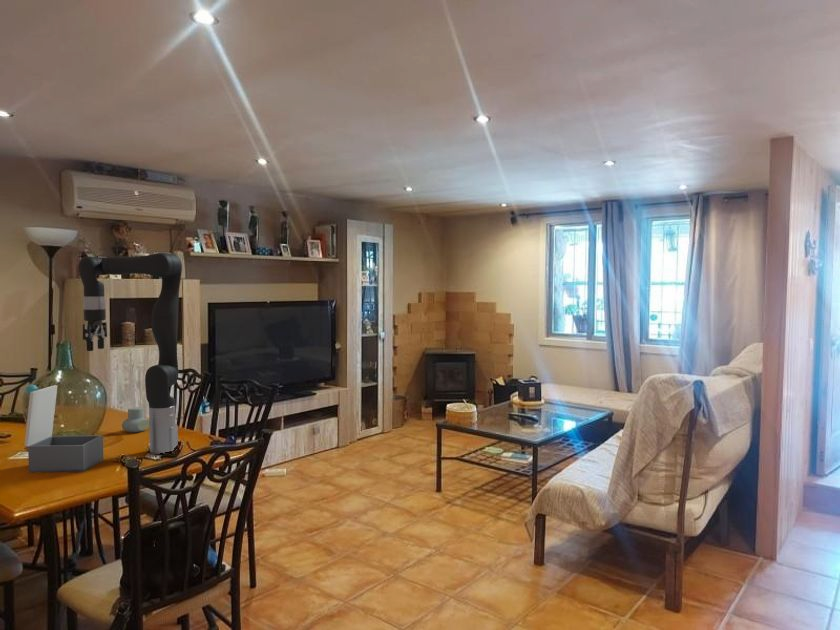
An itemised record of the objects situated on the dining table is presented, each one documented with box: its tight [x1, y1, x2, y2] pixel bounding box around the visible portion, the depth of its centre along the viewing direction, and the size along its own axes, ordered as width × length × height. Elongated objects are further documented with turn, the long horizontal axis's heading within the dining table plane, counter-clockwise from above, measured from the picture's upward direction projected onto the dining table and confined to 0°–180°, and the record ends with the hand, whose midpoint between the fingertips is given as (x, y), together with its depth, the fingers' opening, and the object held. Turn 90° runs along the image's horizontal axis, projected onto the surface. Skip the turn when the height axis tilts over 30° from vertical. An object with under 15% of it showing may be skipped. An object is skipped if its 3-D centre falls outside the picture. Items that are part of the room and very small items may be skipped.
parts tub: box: [27, 434, 105, 474], centre depth 209 cm, size 18×14×9 cm
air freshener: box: [121, 406, 149, 433], centre depth 260 cm, size 11×8×10 cm
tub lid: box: [24, 384, 58, 448], centre depth 207 cm, size 19×14×6 cm
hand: (95, 349), depth 233 cm, fingers open, 8 cm apart
